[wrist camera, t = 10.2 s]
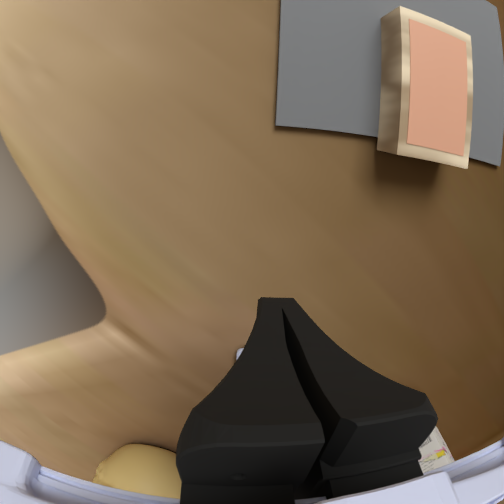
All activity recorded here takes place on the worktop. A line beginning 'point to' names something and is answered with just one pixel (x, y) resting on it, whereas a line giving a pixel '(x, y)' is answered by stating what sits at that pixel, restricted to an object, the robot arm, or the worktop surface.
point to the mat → (377, 65)
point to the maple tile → (425, 89)
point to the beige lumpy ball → (141, 471)
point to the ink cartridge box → (434, 452)
